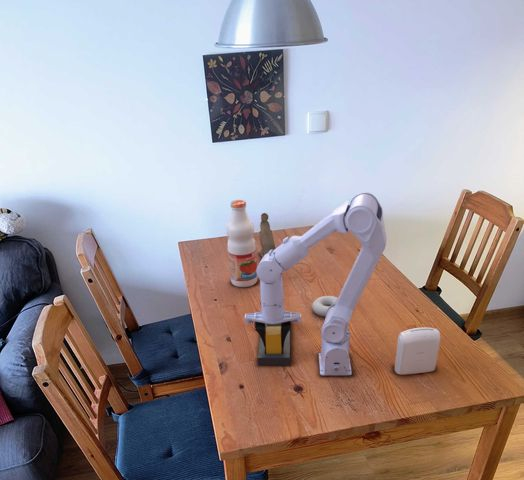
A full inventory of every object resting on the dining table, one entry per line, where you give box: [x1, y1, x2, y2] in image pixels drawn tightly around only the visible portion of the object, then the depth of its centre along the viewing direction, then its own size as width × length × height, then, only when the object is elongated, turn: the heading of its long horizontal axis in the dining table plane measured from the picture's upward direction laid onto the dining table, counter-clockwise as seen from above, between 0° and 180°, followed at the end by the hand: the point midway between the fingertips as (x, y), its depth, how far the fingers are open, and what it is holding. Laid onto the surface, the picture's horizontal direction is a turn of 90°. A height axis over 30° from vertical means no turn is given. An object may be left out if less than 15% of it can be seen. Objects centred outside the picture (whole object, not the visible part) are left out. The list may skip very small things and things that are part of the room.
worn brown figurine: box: [258, 212, 277, 259], centre depth 180 cm, size 12×6×18 cm, turn 11°
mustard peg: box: [265, 326, 283, 354], centre depth 128 cm, size 4×4×8 cm
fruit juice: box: [225, 199, 259, 288], centre depth 160 cm, size 9×9×28 cm
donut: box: [312, 295, 339, 318], centre depth 148 cm, size 10×4×10 cm
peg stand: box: [257, 323, 291, 366], centre depth 136 cm, size 22×8×2 cm, turn 177°
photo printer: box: [394, 326, 441, 376], centre depth 120 cm, size 10×4×12 cm, turn 96°
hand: (274, 344), depth 129 cm, fingers closed on mustard peg, 4 cm apart
